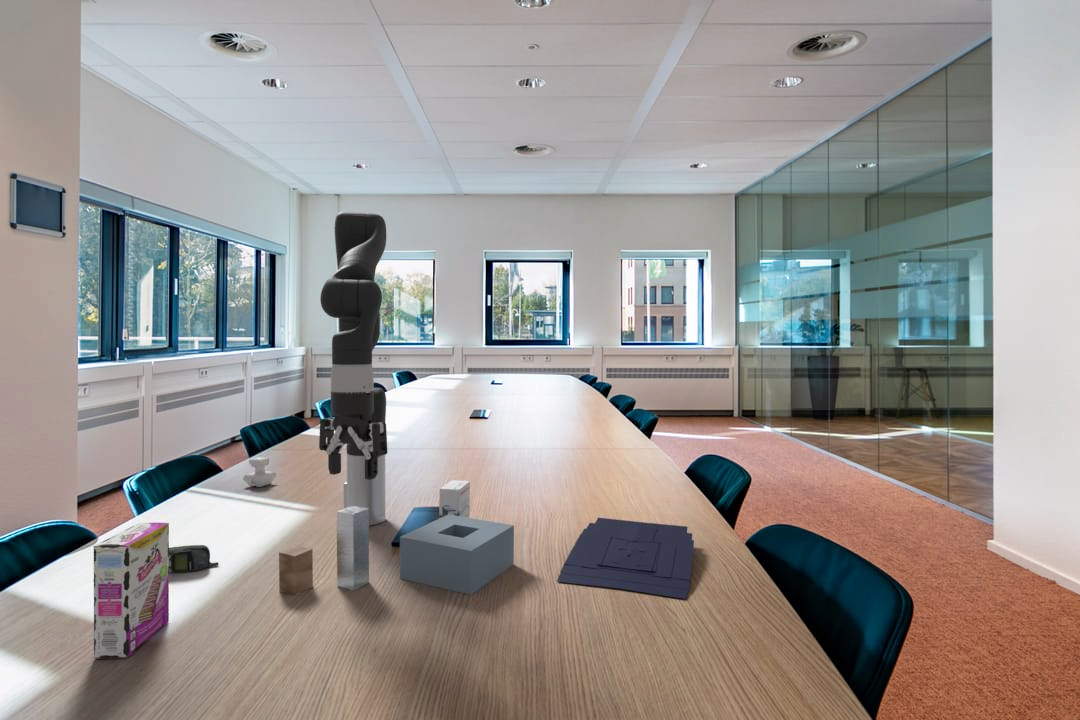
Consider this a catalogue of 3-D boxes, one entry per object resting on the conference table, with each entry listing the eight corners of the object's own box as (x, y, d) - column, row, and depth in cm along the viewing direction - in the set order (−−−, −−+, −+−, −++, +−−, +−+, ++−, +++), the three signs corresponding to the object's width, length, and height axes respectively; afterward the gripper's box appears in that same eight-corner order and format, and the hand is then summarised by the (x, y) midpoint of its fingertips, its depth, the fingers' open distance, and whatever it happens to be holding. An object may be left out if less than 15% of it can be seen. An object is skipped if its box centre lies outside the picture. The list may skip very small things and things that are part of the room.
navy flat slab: (696, 539, 133) (696, 523, 132) (687, 613, 105) (687, 594, 104) (590, 527, 140) (590, 513, 140) (555, 594, 112) (555, 576, 111)
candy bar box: (129, 659, 84) (127, 545, 83) (92, 660, 84) (90, 546, 83) (172, 621, 95) (170, 520, 95) (139, 622, 95) (137, 521, 94)
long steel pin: (337, 586, 109) (336, 511, 108) (352, 578, 113) (352, 505, 112) (353, 590, 107) (353, 514, 107) (369, 582, 111) (368, 508, 110)
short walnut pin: (279, 590, 107) (278, 552, 107) (297, 582, 111) (296, 545, 110) (295, 594, 105) (294, 556, 105) (312, 586, 109) (312, 548, 109)
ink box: (451, 527, 143) (451, 479, 143) (470, 529, 142) (471, 480, 142) (437, 539, 135) (437, 488, 134) (458, 541, 134) (459, 489, 133)
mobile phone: (124, 556, 111) (215, 544, 116) (129, 550, 114) (218, 539, 119) (126, 582, 111) (216, 569, 116) (131, 576, 114) (219, 564, 119)
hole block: (399, 578, 113) (399, 536, 112) (448, 551, 127) (448, 514, 127) (471, 594, 106) (471, 550, 105) (513, 564, 120) (513, 525, 120)
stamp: (259, 490, 176) (258, 462, 176) (240, 488, 178) (239, 460, 177) (279, 482, 185) (278, 456, 184) (261, 481, 186) (260, 454, 186)
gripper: (307, 388, 108) (308, 476, 109) (368, 392, 102) (368, 485, 103) (338, 385, 115) (338, 468, 116) (396, 389, 109) (396, 476, 109)
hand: (352, 476), depth 109 cm, fingers open, 8 cm apart
